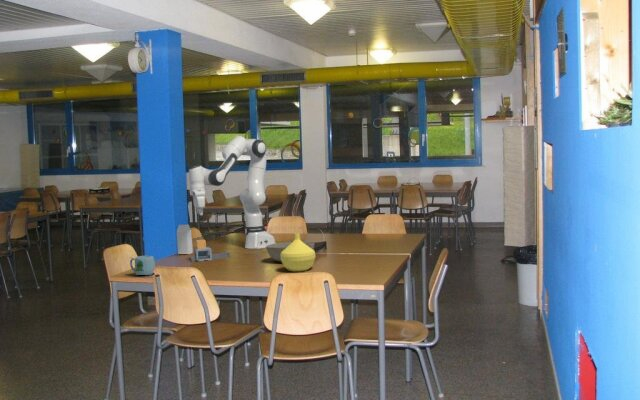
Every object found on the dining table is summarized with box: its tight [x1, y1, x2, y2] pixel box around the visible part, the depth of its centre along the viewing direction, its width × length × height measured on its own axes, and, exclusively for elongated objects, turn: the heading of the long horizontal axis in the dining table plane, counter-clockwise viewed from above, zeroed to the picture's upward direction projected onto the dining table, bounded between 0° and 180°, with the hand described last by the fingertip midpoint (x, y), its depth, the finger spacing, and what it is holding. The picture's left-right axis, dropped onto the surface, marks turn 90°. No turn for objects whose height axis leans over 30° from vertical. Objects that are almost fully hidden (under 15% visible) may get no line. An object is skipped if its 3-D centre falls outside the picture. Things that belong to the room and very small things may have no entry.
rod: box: [190, 252, 231, 262], centre depth 404 cm, size 23×3×3 cm, turn 110°
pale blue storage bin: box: [193, 246, 213, 262], centre depth 403 cm, size 9×9×7 cm
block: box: [195, 239, 207, 249], centre depth 402 cm, size 5×5×5 cm
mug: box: [129, 254, 156, 276], centre depth 361 cm, size 15×11×10 cm
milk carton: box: [176, 224, 194, 256], centre depth 431 cm, size 7×7×19 cm
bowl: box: [265, 241, 315, 263], centre depth 383 cm, size 28×28×10 cm
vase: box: [280, 232, 316, 273], centre depth 350 cm, size 18×18×19 cm
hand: (199, 214), depth 411 cm, fingers open, 8 cm apart
